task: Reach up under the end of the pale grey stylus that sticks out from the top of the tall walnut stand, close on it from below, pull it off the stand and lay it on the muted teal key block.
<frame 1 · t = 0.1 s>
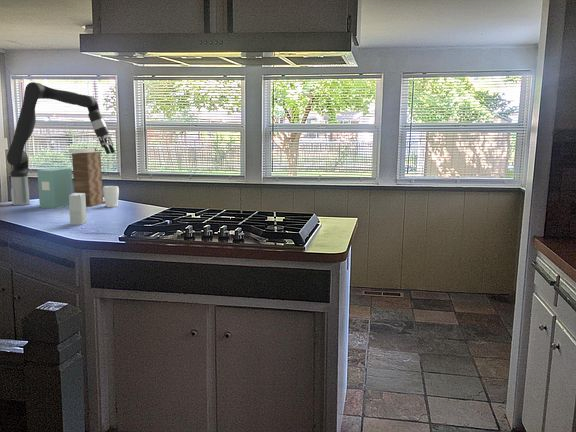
hand: (111, 153, 316), 32 cm above the counter, tool tilted 20°, fingers open, 8 cm apart
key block: (57, 205, 316), on the counter
stand: (89, 204, 321), on the counter
cup: (111, 206, 315), on the counter
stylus: (82, 152, 312), point 32 cm above the counter, touching stand
skincare box: (78, 224, 258), on the counter
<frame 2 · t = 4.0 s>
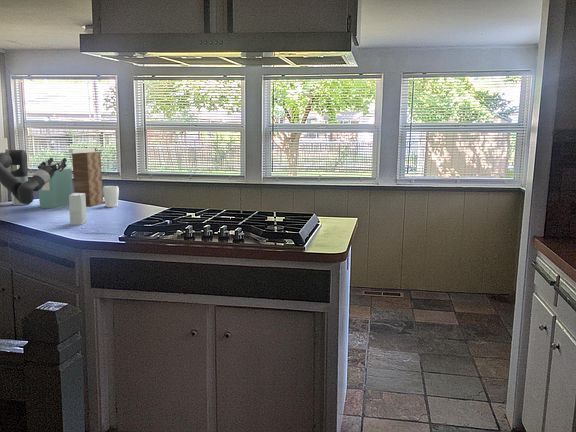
hand: (59, 159, 291), 29 cm above the counter, tool pointing upward, fingers open, 8 cm apart
nothing on the counter moved.
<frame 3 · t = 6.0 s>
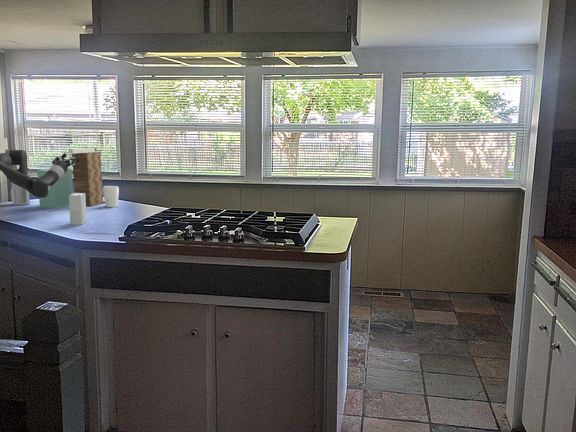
hand: (72, 154, 301), 31 cm above the counter, tool pointing upward, fingers open, 8 cm apart
nothing on the counter moved.
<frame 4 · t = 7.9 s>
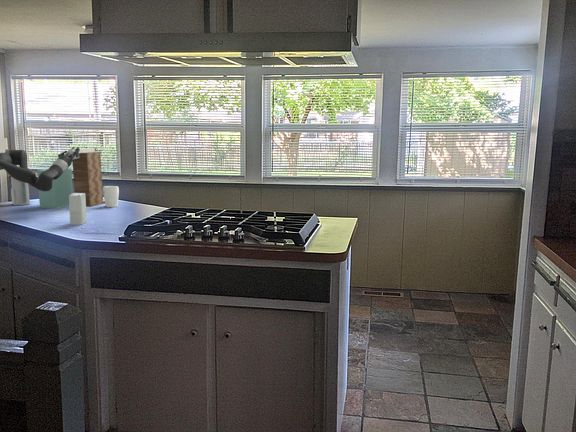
hand: (76, 148, 306), 35 cm above the counter, tool pointing upward, fingers closed on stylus, 2 cm apart
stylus: (82, 152, 312), point 32 cm above the counter, touching gripper, stand
everything else where it was.
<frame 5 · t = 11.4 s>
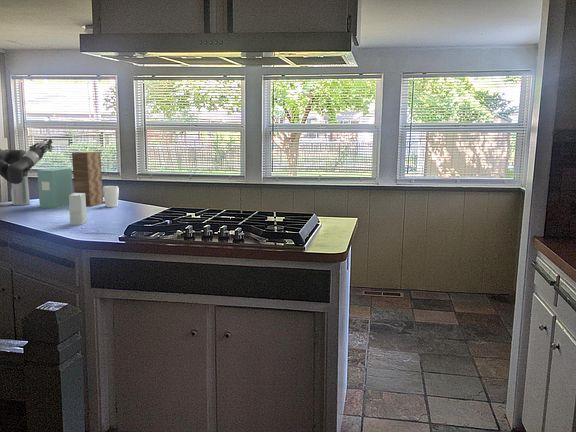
hand: (48, 140, 298), 39 cm above the counter, tool pointing upward, fingers closed on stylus, 2 cm apart
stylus: (55, 145, 304), point 37 cm above the counter, touching gripper
everything else where it was.
when the fingers open (26 cm above the counter, at t = 14.8 s): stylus drops 2 cm, resting on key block.
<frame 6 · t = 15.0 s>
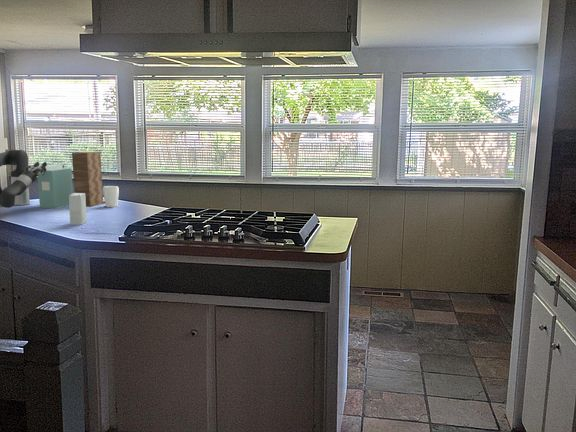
hand: (42, 163, 301), 26 cm above the counter, tool pointing upward, fingers open, 4 cm apart
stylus: (48, 170, 307), point 22 cm above the counter, touching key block
everything else where it was.
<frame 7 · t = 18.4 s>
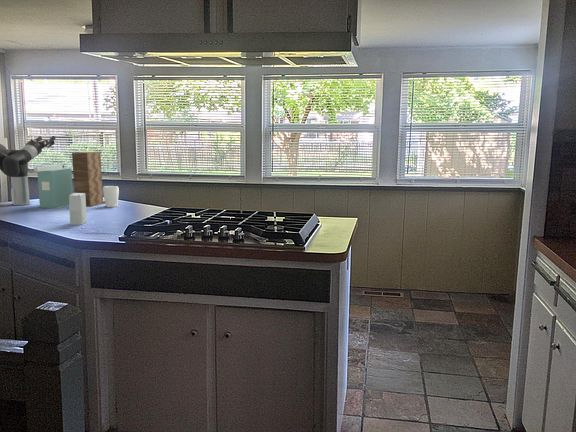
hand: (47, 137, 289), 41 cm above the counter, tool pointing upward, fingers open, 8 cm apart
nothing on the counter moved.
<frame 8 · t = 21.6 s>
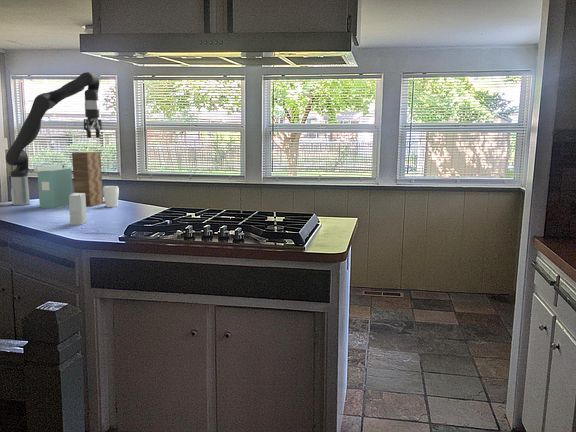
hand: (93, 137, 299), 41 cm above the counter, tool pointing down, fingers open, 8 cm apart
nothing on the counter moved.
at the end: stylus inside the target area (0.5 cm from its centre), point 22.0 cm above the counter; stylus touching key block; the gripper is holding nothing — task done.
